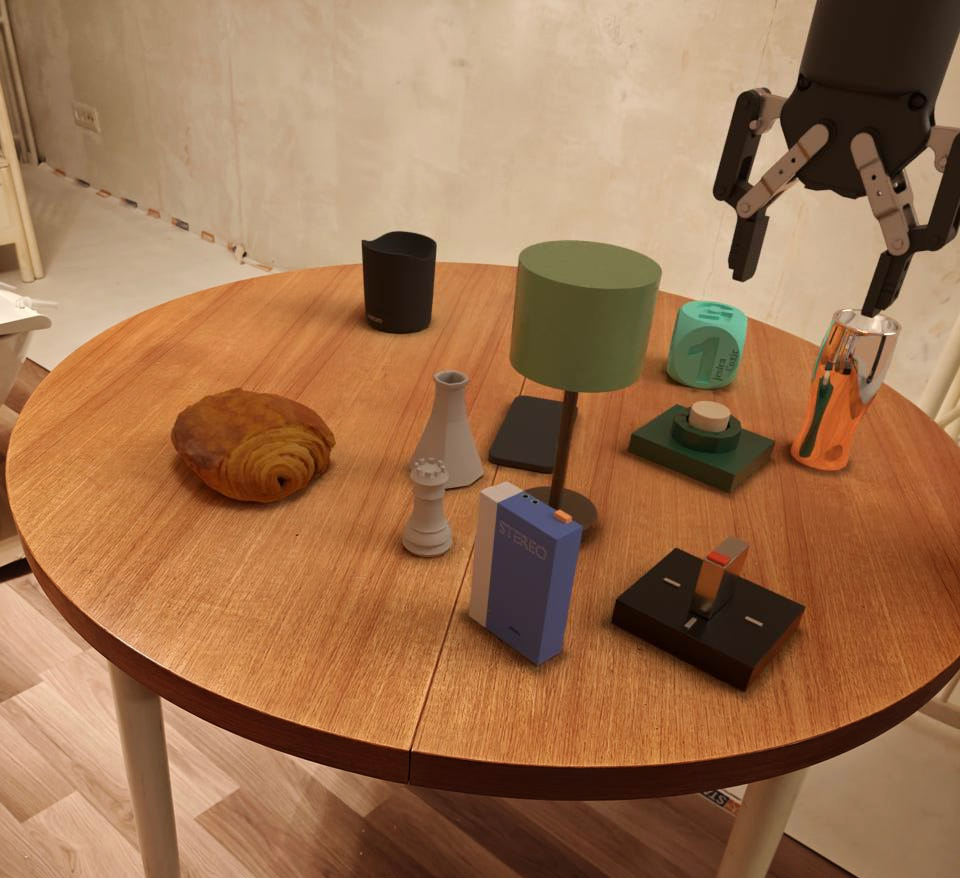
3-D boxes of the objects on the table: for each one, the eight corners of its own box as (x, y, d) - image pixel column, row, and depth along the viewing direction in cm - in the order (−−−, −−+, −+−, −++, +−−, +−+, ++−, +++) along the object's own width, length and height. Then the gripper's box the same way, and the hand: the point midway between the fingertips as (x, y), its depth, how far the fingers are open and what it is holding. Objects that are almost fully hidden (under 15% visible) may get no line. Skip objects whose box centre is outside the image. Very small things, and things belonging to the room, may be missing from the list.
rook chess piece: (394, 552, 77) (394, 472, 72) (412, 526, 81) (414, 447, 75) (442, 564, 76) (446, 483, 71) (458, 537, 80) (463, 458, 75)
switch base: (770, 459, 95) (781, 425, 93) (729, 493, 89) (739, 458, 86) (672, 421, 100) (680, 388, 98) (627, 451, 94) (634, 417, 92)
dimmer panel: (796, 630, 73) (807, 604, 71) (744, 692, 67) (754, 666, 65) (669, 570, 78) (676, 545, 76) (610, 623, 72) (615, 597, 70)
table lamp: (632, 521, 84) (688, 266, 68) (568, 571, 77) (613, 300, 62) (538, 479, 89) (570, 231, 73) (470, 522, 82) (489, 259, 66)
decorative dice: (665, 384, 108) (680, 319, 103) (666, 359, 114) (680, 296, 109) (731, 394, 107) (749, 329, 102) (729, 367, 113) (745, 305, 108)
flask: (395, 466, 88) (396, 371, 82) (451, 447, 92) (456, 354, 86) (439, 498, 84) (444, 401, 78) (497, 477, 88) (505, 382, 82)
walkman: (561, 651, 69) (584, 521, 61) (537, 666, 67) (557, 535, 59) (492, 602, 73) (505, 474, 65) (467, 615, 71) (478, 486, 64)
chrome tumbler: (773, 452, 96) (817, 316, 87) (808, 435, 100) (853, 302, 90) (829, 480, 93) (881, 340, 83) (863, 461, 96) (917, 325, 87)
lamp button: (732, 425, 93) (737, 409, 92) (715, 437, 90) (719, 422, 89) (699, 412, 94) (702, 397, 93) (681, 424, 92) (684, 408, 91)
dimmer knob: (714, 585, 73) (730, 531, 69) (734, 594, 72) (751, 541, 68) (688, 610, 70) (704, 555, 66) (708, 620, 69) (725, 565, 66)
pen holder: (359, 307, 120) (358, 229, 113) (428, 308, 121) (431, 231, 115) (365, 335, 113) (364, 254, 106) (438, 335, 115) (441, 255, 108)
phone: (485, 455, 90) (516, 393, 101) (485, 463, 90) (515, 400, 101) (557, 468, 89) (580, 404, 100) (556, 476, 89) (579, 411, 100)
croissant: (217, 541, 80) (208, 470, 74) (157, 444, 88) (144, 374, 82) (359, 498, 87) (361, 430, 81) (291, 412, 94) (289, 344, 89)
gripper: (1061, -8, 45) (934, 311, 55) (796, -37, 51) (727, 255, 61) (1028, -4, 40) (897, 344, 51) (740, -36, 46) (676, 280, 57)
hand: (804, 295), depth 56 cm, fingers open, 8 cm apart
